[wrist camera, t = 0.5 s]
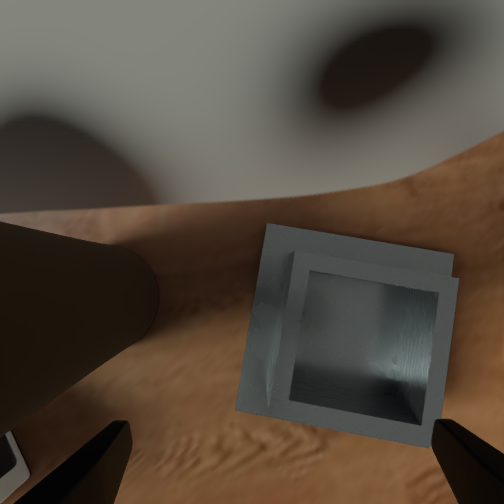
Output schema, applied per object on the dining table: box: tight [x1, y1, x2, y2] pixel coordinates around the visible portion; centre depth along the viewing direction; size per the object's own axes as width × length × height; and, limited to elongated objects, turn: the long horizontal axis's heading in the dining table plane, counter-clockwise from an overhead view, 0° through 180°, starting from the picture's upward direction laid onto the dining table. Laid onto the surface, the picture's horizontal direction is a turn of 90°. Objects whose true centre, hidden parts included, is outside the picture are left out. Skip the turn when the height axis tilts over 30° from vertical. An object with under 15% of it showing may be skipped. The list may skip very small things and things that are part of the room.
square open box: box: [235, 223, 459, 448], centre depth 20 cm, size 16×16×5 cm
